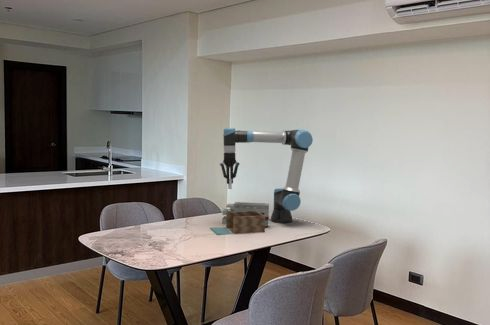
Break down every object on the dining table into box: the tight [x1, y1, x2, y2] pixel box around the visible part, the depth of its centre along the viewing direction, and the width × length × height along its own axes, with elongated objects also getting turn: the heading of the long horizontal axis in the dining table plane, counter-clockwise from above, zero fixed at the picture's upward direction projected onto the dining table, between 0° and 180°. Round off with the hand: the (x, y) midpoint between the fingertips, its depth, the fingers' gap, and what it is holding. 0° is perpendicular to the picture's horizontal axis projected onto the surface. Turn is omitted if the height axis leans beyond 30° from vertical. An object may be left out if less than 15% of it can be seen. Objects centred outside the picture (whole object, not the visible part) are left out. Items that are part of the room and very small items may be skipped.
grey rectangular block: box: [221, 201, 270, 227], centre depth 293 cm, size 8×30×15 cm, turn 84°
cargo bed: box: [225, 211, 266, 235], centre depth 275 cm, size 20×16×12 cm
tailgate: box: [209, 227, 234, 236], centre depth 270 cm, size 1×16×10 cm
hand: (229, 188), depth 285 cm, fingers closed
